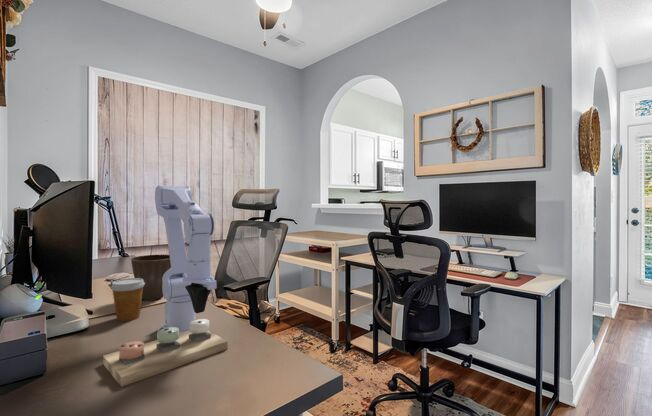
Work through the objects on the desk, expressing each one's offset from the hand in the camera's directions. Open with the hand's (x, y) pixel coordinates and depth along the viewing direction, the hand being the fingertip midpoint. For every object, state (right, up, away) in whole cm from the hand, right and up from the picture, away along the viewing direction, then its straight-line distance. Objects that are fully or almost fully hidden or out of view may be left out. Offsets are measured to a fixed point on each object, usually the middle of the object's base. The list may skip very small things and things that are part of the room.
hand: (199, 312), depth 86 cm
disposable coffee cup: (-31, -9, +21) cm, 39 cm away
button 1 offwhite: (0, -5, 0) cm, 5 cm away
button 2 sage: (-5, -5, -6) cm, 9 cm away
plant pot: (-35, -8, +44) cm, 56 cm away
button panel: (-5, -9, -6) cm, 12 cm away
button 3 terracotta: (-11, -6, -12) cm, 17 cm away
